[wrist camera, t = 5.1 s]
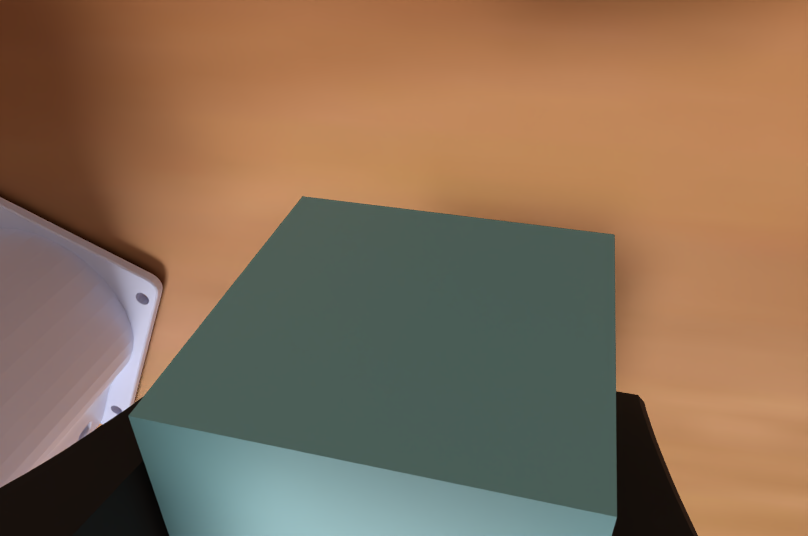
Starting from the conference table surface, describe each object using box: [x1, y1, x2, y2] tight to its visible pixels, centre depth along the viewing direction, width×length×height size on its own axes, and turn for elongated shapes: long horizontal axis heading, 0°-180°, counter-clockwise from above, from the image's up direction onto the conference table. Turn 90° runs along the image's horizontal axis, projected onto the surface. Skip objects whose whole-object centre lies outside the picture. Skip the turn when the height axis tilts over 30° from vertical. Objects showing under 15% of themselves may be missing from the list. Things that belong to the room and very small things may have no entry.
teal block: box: [128, 196, 617, 536], centre depth 10 cm, size 5×5×5 cm
